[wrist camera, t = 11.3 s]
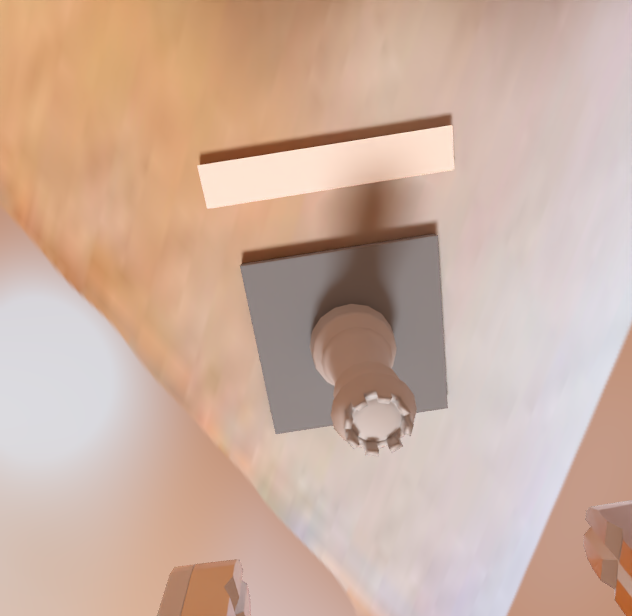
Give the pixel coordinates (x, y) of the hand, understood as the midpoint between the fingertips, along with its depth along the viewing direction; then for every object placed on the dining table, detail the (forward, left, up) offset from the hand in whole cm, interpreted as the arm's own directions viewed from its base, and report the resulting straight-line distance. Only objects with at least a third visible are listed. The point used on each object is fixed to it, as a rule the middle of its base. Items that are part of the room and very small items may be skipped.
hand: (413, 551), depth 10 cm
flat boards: (-2, 0, -14) cm, 14 cm away
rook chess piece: (0, 0, -14) cm, 14 cm away
